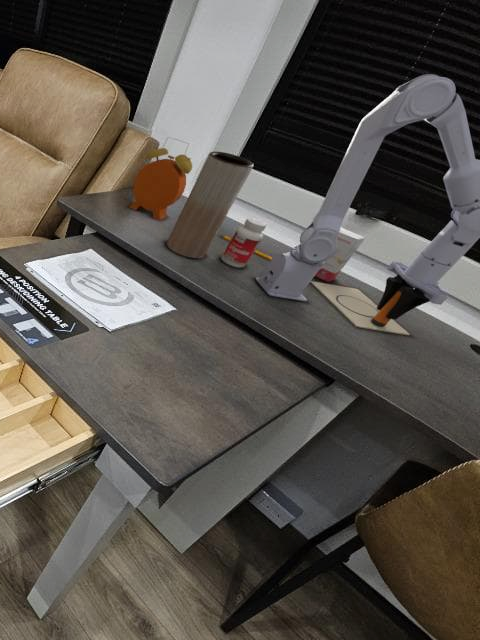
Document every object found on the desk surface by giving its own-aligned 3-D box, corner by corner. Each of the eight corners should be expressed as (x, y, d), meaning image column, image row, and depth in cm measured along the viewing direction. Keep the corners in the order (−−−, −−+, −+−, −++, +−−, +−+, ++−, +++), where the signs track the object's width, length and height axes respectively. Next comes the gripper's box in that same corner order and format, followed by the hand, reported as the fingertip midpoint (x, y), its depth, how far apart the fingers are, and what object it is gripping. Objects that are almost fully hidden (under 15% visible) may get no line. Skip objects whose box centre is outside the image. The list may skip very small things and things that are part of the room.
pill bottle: (217, 260, 117) (241, 219, 110) (224, 254, 121) (247, 214, 113) (241, 270, 115) (267, 229, 107) (247, 264, 118) (272, 223, 111)
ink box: (334, 279, 120) (367, 237, 112) (326, 283, 117) (359, 240, 109) (303, 264, 124) (332, 222, 116) (294, 267, 122) (324, 225, 114)
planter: (208, 252, 120) (258, 162, 105) (197, 262, 114) (248, 168, 99) (173, 237, 124) (216, 148, 109) (160, 247, 118) (204, 154, 103)
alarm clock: (172, 218, 136) (205, 146, 122) (164, 222, 132) (197, 148, 119) (132, 202, 141) (160, 131, 128) (124, 205, 137) (152, 133, 124)
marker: (375, 325, 102) (408, 291, 96) (367, 318, 104) (399, 284, 98) (387, 327, 102) (420, 293, 96) (379, 320, 104) (411, 286, 98)
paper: (355, 326, 101) (357, 325, 101) (310, 282, 116) (311, 280, 116) (409, 335, 102) (410, 334, 102) (357, 290, 117) (358, 288, 117)
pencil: (283, 267, 121) (285, 265, 120) (222, 237, 130) (223, 235, 130) (285, 266, 121) (286, 264, 121) (223, 237, 131) (224, 235, 130)
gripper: (483, 279, 87) (425, 335, 96) (429, 246, 98) (382, 299, 107) (449, 274, 87) (394, 330, 96) (399, 241, 98) (354, 295, 107)
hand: (385, 314), depth 101 cm, fingers closed on marker, 3 cm apart
